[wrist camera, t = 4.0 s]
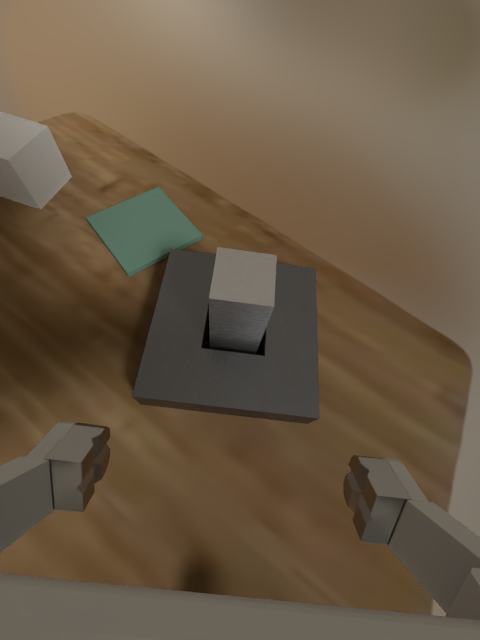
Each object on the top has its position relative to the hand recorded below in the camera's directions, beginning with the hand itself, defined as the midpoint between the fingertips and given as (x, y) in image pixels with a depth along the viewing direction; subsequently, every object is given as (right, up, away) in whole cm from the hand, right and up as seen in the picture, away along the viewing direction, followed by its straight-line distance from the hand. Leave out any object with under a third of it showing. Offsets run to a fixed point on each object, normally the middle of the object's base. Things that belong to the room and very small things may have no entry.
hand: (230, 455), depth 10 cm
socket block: (0, +3, +18) cm, 18 cm away
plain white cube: (-24, +20, +24) cm, 39 cm away
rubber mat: (-10, +15, +23) cm, 29 cm away
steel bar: (0, +3, +18) cm, 18 cm away
